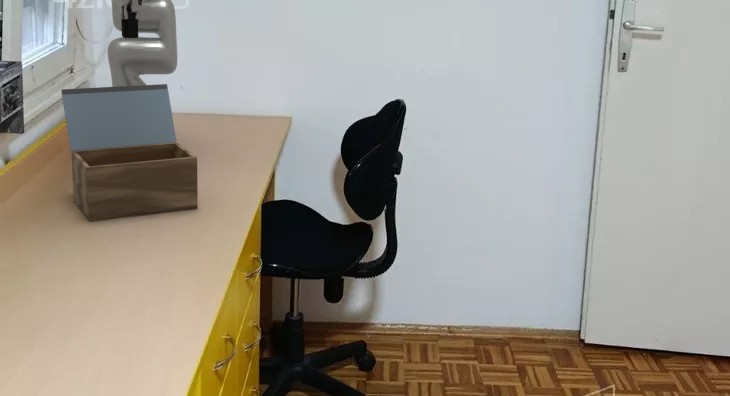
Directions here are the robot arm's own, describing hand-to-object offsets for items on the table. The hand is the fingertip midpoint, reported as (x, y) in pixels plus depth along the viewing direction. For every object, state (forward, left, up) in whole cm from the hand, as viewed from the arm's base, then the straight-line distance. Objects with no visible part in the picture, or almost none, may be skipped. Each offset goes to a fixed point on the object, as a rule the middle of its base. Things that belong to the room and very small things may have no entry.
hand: (130, 37), depth 192 cm
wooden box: (+5, -1, -37) cm, 37 cm away
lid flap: (-6, -1, -19) cm, 19 cm away
